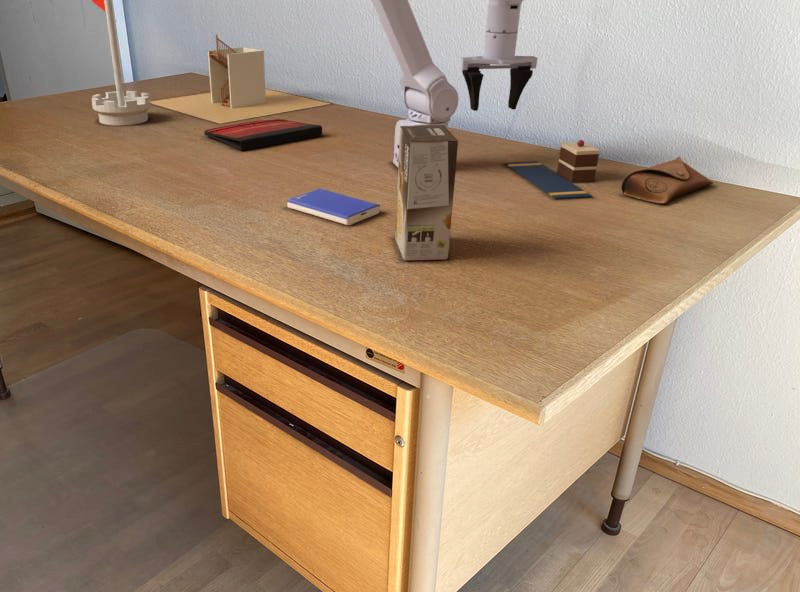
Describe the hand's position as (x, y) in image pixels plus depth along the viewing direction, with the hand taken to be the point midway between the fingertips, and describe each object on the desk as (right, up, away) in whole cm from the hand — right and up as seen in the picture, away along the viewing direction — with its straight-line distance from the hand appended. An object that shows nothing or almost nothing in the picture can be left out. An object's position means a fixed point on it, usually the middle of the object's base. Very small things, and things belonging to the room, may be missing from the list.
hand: (493, 109), depth 141 cm
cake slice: (+14, -15, -6) cm, 21 cm away
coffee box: (-18, -32, -37) cm, 53 cm away
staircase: (-55, +18, +50) cm, 77 cm away
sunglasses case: (+28, -19, -12) cm, 36 cm away
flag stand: (-80, +8, +32) cm, 86 cm away
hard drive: (-30, -24, -23) cm, 45 cm away
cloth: (+8, -15, -8) cm, 19 cm away
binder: (-46, 0, +19) cm, 50 cm away
